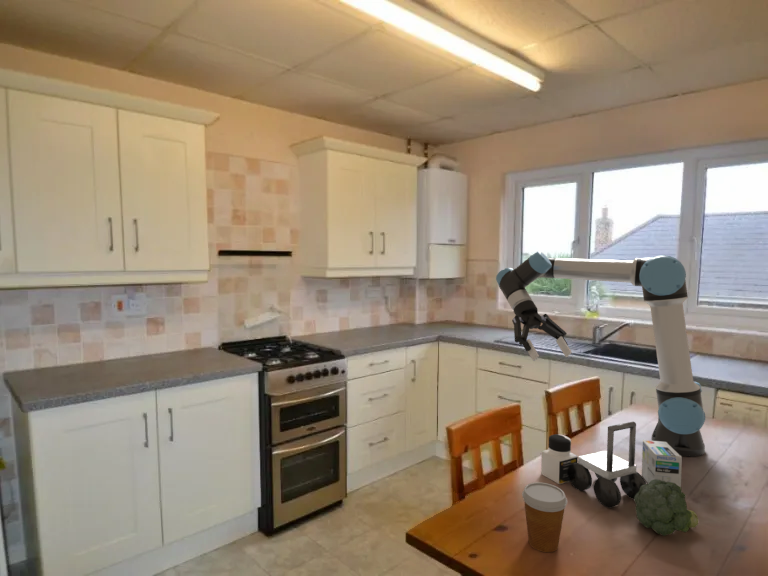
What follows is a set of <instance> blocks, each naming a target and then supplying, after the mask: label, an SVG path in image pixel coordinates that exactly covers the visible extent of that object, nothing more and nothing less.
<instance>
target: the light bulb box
mask: <svg viewBox="0 0 768 576" xmlns="http://www.w3.org/2000/svg"><path fill="white" fill-rule="evenodd" d="M641 454H642V458H641V476H642V477H643V478H644V480H645V481H646V484H648V483H649V482H650V481H651V480H654V479H658V480H661V481H665V482H672V483H675V484H676V485H678V486H679V487H681V488H682V464H683V456H681V455H679V454H678V453H677V452H676V451H675V450H674V449H673V448H672V447H671V446H670V445H669V444H668V443H667V442H662V441H651V439H650V440H648V439H642V453H641Z"/></svg>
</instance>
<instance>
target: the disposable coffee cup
mask: <svg viewBox="0 0 768 576" xmlns="http://www.w3.org/2000/svg"><path fill="white" fill-rule="evenodd" d="M521 495H522V499H523V501H524V511H525V519H526V530H527V538H528V539H527V540H528V544H529V545H530V546H531V547H532V548H533V549H534V550H537V551H539V552H543V553H553V552H555V551H557V550H558V549H559V542H560V539H561V531H562V525H563V520H564V513H565V509H566V506H567V504H568V498H567V497H566V493H565V492H564V490H562V489H561V488H560V487H559V486H557V485H554V484H551V483H547V482H539V481H538V482H530V483H528V484H526V485H525V486H524V488H523V491H522V492H521Z"/></svg>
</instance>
